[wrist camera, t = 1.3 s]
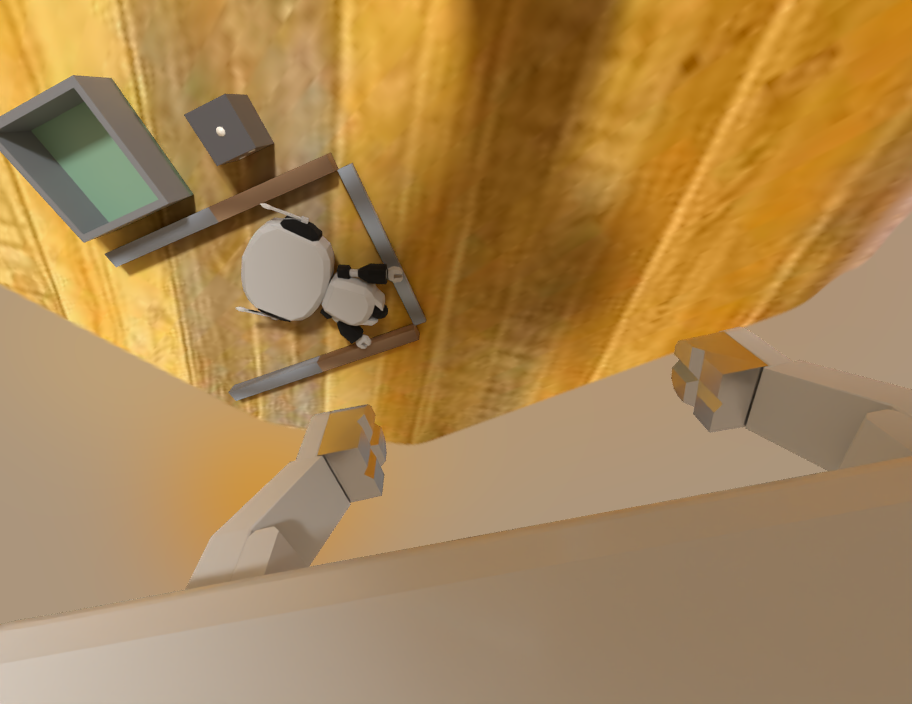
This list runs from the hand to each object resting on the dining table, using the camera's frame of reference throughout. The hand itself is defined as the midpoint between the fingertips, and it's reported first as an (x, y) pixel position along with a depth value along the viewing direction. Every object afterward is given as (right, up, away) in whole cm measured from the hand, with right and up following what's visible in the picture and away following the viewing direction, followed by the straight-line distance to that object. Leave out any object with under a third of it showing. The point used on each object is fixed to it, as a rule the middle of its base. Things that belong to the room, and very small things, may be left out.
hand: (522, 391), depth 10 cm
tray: (-34, +19, +26) cm, 47 cm away
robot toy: (-16, +10, +32) cm, 37 cm away
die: (-21, +21, +25) cm, 39 cm away
